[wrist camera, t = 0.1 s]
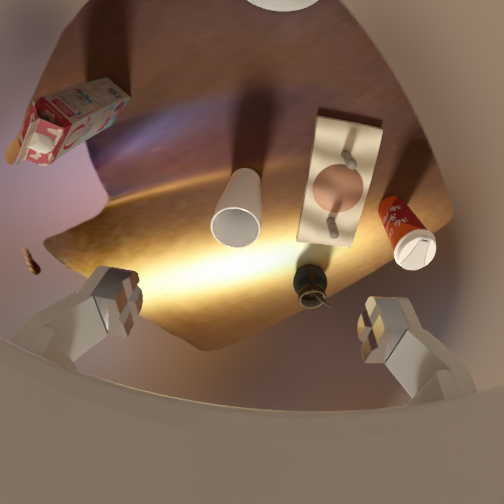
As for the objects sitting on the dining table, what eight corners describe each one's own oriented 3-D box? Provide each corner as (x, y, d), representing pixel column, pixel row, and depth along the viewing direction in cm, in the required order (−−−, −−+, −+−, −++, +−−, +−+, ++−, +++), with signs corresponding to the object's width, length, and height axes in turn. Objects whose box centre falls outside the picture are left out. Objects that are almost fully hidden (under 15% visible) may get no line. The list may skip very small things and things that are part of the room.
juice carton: (131, 97, 39) (46, 137, 22) (111, 125, 42) (30, 178, 25) (106, 76, 36) (15, 107, 19) (88, 105, 40) (2, 149, 22)
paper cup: (379, 187, 47) (407, 231, 36) (413, 194, 47) (445, 238, 36) (368, 222, 52) (389, 271, 41) (400, 227, 52) (425, 275, 41)
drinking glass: (253, 156, 45) (244, 197, 34) (271, 188, 49) (270, 238, 37) (219, 173, 48) (199, 219, 36) (238, 203, 51) (227, 255, 40)
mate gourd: (291, 260, 59) (294, 296, 51) (327, 258, 58) (334, 293, 50) (292, 285, 64) (294, 320, 56) (325, 283, 63) (331, 317, 55)
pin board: (316, 115, 40) (322, 123, 35) (380, 127, 40) (393, 138, 35) (296, 237, 55) (298, 256, 51) (349, 242, 55) (355, 262, 50)
